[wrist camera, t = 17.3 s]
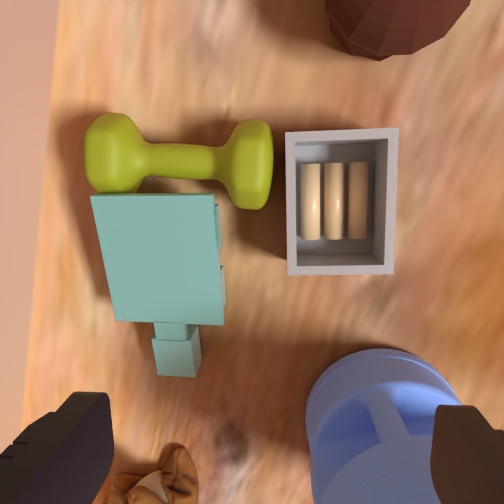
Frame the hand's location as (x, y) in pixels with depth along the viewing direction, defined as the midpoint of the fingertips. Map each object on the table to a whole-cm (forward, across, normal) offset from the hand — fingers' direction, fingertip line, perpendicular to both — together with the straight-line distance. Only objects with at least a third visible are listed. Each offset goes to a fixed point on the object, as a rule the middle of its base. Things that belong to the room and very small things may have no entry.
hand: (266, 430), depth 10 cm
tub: (+31, -5, -3) cm, 31 cm away
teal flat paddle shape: (+29, +10, +5) cm, 31 cm away
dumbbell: (+31, +8, -7) cm, 33 cm away
